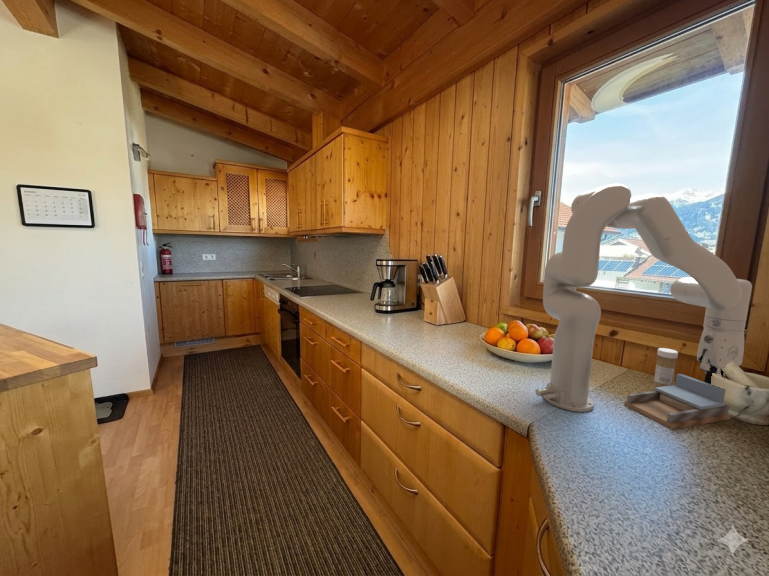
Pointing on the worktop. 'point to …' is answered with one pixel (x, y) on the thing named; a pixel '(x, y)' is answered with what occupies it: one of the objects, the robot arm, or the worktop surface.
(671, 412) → the shallow wooden box
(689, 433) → the worktop surface
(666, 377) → the sprinkles bottle
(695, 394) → the lid
